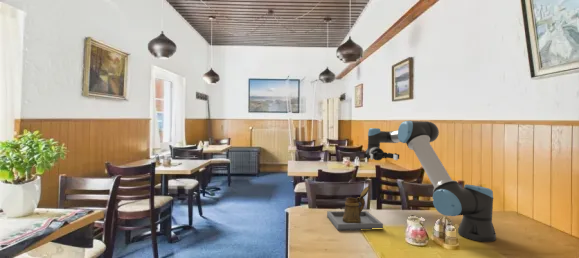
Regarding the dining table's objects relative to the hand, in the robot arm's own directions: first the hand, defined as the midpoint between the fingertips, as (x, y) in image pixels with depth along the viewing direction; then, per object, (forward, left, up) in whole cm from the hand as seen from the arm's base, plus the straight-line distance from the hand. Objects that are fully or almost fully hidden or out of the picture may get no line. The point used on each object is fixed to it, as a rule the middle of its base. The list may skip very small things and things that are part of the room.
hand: (384, 157), depth 180 cm
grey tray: (-14, +21, -32) cm, 41 cm away
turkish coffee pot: (-14, +20, -31) cm, 40 cm away
